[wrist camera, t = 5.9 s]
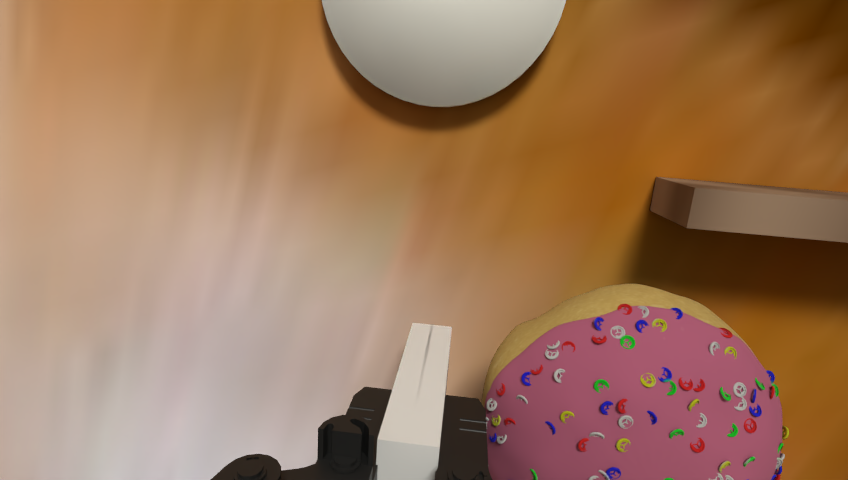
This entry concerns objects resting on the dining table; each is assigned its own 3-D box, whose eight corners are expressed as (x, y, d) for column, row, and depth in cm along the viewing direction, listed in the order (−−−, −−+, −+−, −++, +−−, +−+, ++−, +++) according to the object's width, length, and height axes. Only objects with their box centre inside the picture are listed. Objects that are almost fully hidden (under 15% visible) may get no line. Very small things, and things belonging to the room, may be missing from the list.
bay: (590, 516, 20) (611, 582, 17) (656, 177, 17) (695, 187, 14) (872, 554, 19) (943, 630, 16) (1002, 205, 16) (1121, 223, 13)
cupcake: (712, 435, 19) (1104, 939, 7) (500, 466, 20) (539, 937, 8) (685, 228, 17) (1144, 450, 5) (453, 276, 18) (422, 539, 7)
